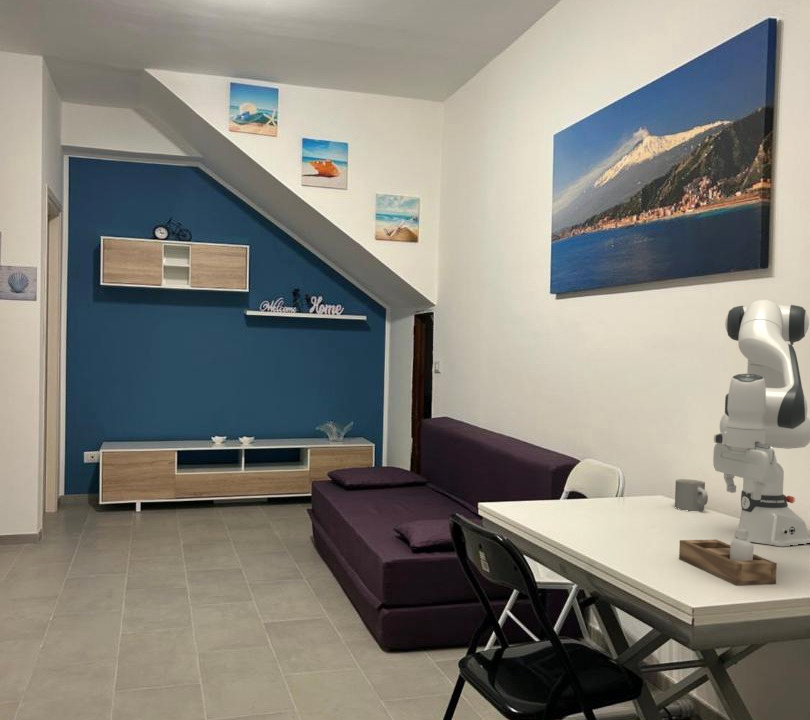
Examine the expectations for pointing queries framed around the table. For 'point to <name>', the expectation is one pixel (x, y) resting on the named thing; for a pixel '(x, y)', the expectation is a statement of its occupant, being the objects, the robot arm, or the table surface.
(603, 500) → the table surface
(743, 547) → the eye dropper bottle
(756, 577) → the walnut slot rail
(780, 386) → the robot arm
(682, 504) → the coffee mug
